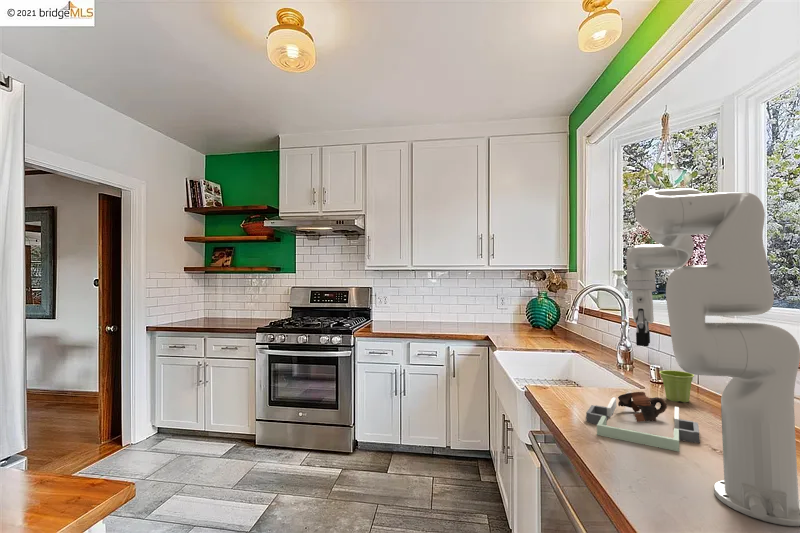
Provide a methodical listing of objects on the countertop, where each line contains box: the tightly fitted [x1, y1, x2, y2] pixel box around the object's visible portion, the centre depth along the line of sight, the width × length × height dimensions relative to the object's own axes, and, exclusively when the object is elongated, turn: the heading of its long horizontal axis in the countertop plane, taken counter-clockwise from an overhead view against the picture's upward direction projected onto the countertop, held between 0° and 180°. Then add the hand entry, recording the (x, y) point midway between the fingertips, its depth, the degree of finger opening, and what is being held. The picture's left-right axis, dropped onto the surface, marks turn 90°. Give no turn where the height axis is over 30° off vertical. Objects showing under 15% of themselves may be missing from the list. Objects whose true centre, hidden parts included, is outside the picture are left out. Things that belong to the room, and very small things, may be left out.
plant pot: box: [658, 369, 695, 403], centre depth 126 cm, size 9×9×9 cm
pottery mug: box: [617, 391, 668, 423], centre depth 111 cm, size 12×10×8 cm
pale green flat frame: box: [585, 396, 701, 453], centre depth 105 cm, size 28×25×2 cm
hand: (643, 343), depth 120 cm, fingers open, 5 cm apart
